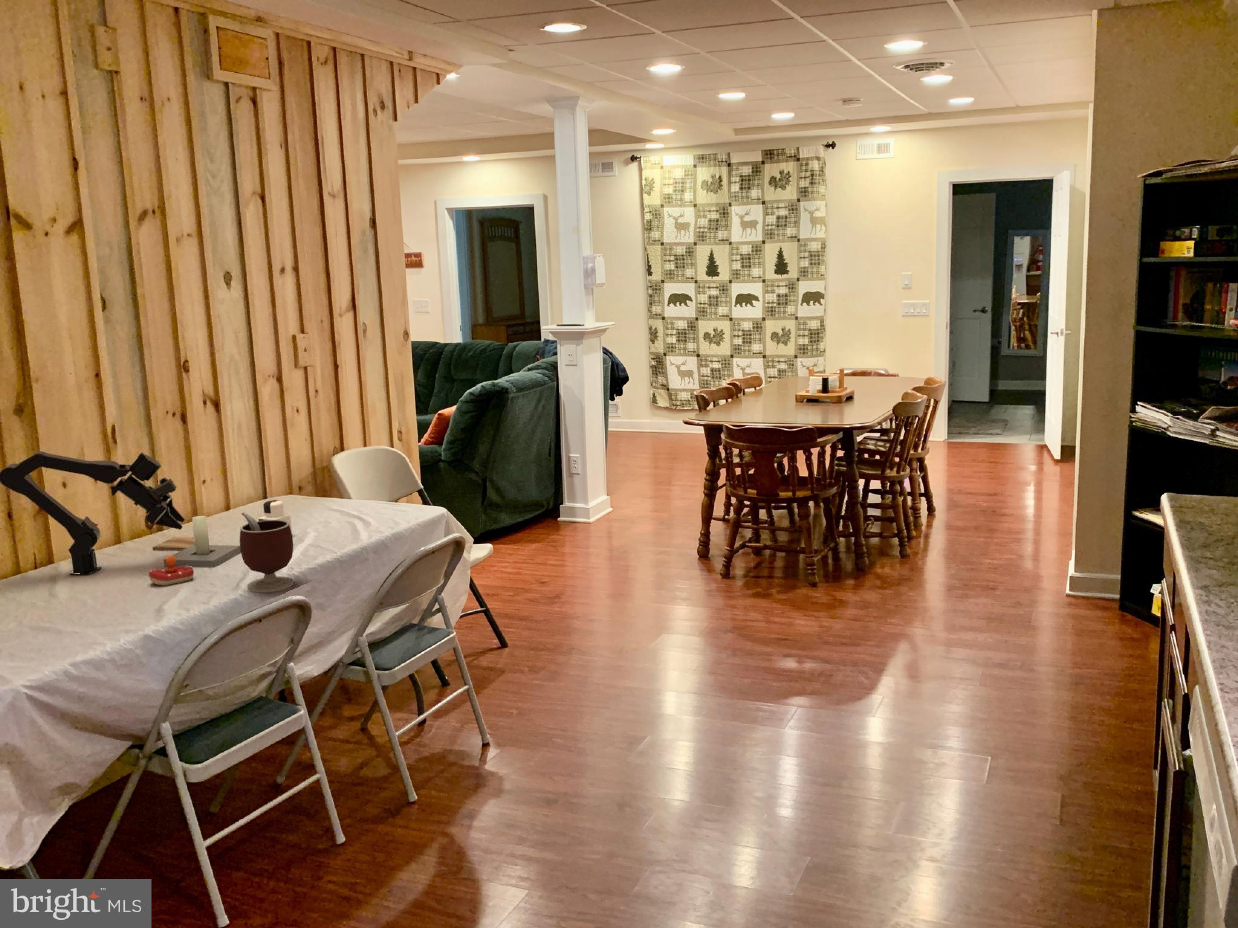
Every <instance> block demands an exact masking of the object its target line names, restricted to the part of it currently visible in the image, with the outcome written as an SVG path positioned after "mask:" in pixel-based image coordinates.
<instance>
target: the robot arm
mask: <svg viewBox="0 0 1238 928" xmlns="http://www.w3.org/2000/svg"><path fill="white" fill-rule="evenodd" d="M161 467H162V465H161V463H160V462H159V461H158V460H157V459H155V457H152V456H150V455H148V454H145V453H143V452H140V453H139V454H138V455H137V458H136V459H135V460H134V461H133V463H131V464H125V463H124V464H122V463H121V464H119V462H117V461H115V460H114V461H113V460H84V459H80V458H75V457H69V456H63V455H58V454H53V453H48V452H45V451H37V452H35V453H34V454H33V455H31V456H30V457H28V458H26V459H24V460H22V461H21V462H19V463H10V464H8V465H7V466H6V467H4V468H2V470H0V485H2V486H4V487H5V488H7V489H9V490H11V491H13V492H15V493H17V494H20V495H22V496H24V497H26V498H27V499H28V500H30V501H31V502H32V503H33V504H35V505H36V506H37V507H39V508H40V509H41V510H42V511H43V512H45V513H46V514H47V515H49V517H50V518H52V519H54V520H55V521H56V522H57V523H58V524H59V525H61V526H62V527H63V528H64V529H65V530H66V531H67V533H68V535H69V536H70V538H71V539H72V540H73V543H72V544H71V545H70V547H69V549H68V552H69V553H70V555H71V557H70V558H71V564H72V571H73V573H80V574H89V573H91V572H93V571H95V572H97V571H99V570H101V569H103V568H102V566H98V563H97V556H96V551H95V548H94V546H95V545H96V544H97V543H98V542H99V540H100V538H101V530H100V528H99V527H98V525H99V524H98V523H95V522H94V521H92V519H90V517H88V516H85V518H84V519H83V518H81V517H78V516H76V515H75V514H74V513H72V511H70V510H69V509H68V508H66V507H65V506H64V505H62V504H61V503H60V502H59V501H58V500H57V499H55V498H54V497H53V496H51V495H50V494H49V493H48V492H47V491H45V489H43V488H42V487H41V486H39V484H38V483H36V481H35V479H34V478H33V476H32V474H31V473H33V472H35V471H36V470H38V469H39V468H45V469H51V470H55V471H60V472H61V471H62V472H67V473H72V474H73V473H74V474H78V475H83V476H86V477H89V478H91V479H92V480H94V481H98V482H100V483H103V484H108V485H110V484H112V485H110V489H111V496H113V497H114V496H115V495H116V494H117V493H121V494H122V495H124V497H126V498H128V500H131V501H132V502H134V503H133V504H134V505H135V506H136V507H137V506H139V507H141V509H142V510H145V514H146V516H145V518H146V521H147V522H148V523H149V524H151V525H153V524H154V526H157V525H158V526H162V527H166V528H171V529H175V530H182V529H183V525H182V524H181V523H184V521H185V520H186V519H185V518H184V516H183V515H182V514H181V513H180V511H178V510H177V509H176V507H175V506H174V504H173V503H174V501H173V497H172V495H171V494H170V493H173V492H175V491H177V485H175V483H174V480H172V478H169V479H168V478H167V477H165V476H164V477H163V478H161V479H160V480H159V484H158V485H157V486H155V487H153V486H151V485H146V484H144V483H143V482H145V481H147V482H149V481H150V480H151V479H152V478H153V476H154V475H155V474H156V473H157V472H158V470H160V468H161ZM128 474H129V475H128ZM126 476H127V477H126ZM125 477H126V478H125ZM118 479H119V480H118ZM117 480H118V482H117ZM115 482H117V483H115ZM114 483H115V484H114ZM100 568H101V569H100ZM98 569H99V570H98ZM96 570H97V571H96ZM72 571H70V572H72ZM93 573H94V572H93ZM91 574H92V573H91ZM89 575H90V574H89Z"/></svg>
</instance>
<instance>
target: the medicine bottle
mask: <svg viewBox="0 0 1238 928" xmlns="http://www.w3.org/2000/svg"><path fill="white" fill-rule="evenodd" d="M284 512H285V510H284V502H283V501H282V500H279V499H278V500H277V499H275V500H273V499H271V500H267V501H265V502H264V503H263V513H264V515H263V516H259V517H258V521H264V520H284V521H287V522H289V526H290V529H291V533H292V534H293V531H292V520H291V514H286V513H284Z"/></svg>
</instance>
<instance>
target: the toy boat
mask: <svg viewBox="0 0 1238 928" xmlns="http://www.w3.org/2000/svg"><path fill="white" fill-rule="evenodd" d="M165 559H166V565H167V566H166V569H153V568H151V569H150V570H149V571H148V577H149V580H150V582H152V583H153V584H155V585H159V586H162V587H165V586H164V585H166V586H170V584H171V585H174V584H175V583H176V584H181V583H185V582H189V581H191V580H192V579H193V577H194V572H195V571H194V569H193V568H194V567H190V566H188V565H186V566H174V565H175V564H176V559H175V557H173V556H172V555H169V556H166V558H165ZM184 581H185V582H184ZM176 584H175V585H176Z"/></svg>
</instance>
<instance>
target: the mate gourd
mask: <svg viewBox="0 0 1238 928" xmlns="http://www.w3.org/2000/svg"><path fill="white" fill-rule="evenodd" d="M241 515H242V516H243V517H244V519H246V521H247V523H245V524H244V525H242V526H241V527H240V532H239V546H240V551H241V552H240V553H241V554H240V555H241V558H242V560H243V561H242V562H243V563H244V564H245V565H246V567H247V568H249V569H250V571H253V572H256V573H261V574H263V575H264V576H263V578H259V579H255V580H252V581H250V582H249V583H248V584H247V585H246V586H247V590H248V591H249V592H253V593H272V592H279V591H282V590H286V589H289V588H290V587H292V586H293V585H294V582H295V581H294V579H293V578H292V577H289V576H283V575H282V576H279V575H278V576H277V575H276V572H278V571H280V570H282V569H284V568H286V567H287V566H288V565H289V563H290V561H291V560H292V558H293V554H294V553H293V552H294V538H293V532H292V533H291V529H292V528H291V529H290V526H289V522H287V521H284V520H264V521H259V520H258V521H257V520H256V519H255V518H254V517H252V516H251V515H249V514H247V513H246V512H241Z"/></svg>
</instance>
